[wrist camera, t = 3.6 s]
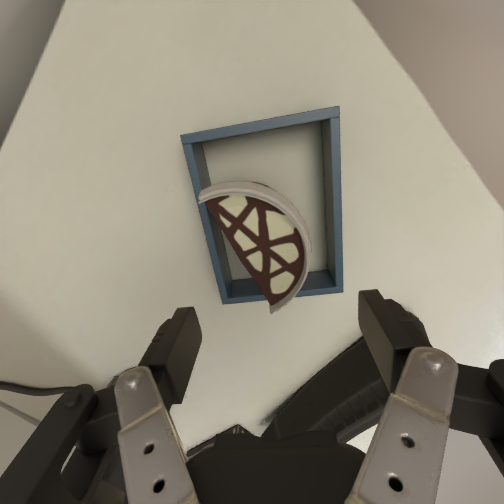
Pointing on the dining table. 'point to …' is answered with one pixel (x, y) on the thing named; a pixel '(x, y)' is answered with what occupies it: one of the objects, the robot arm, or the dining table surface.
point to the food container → (263, 236)
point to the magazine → (338, 397)
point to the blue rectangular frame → (333, 276)
